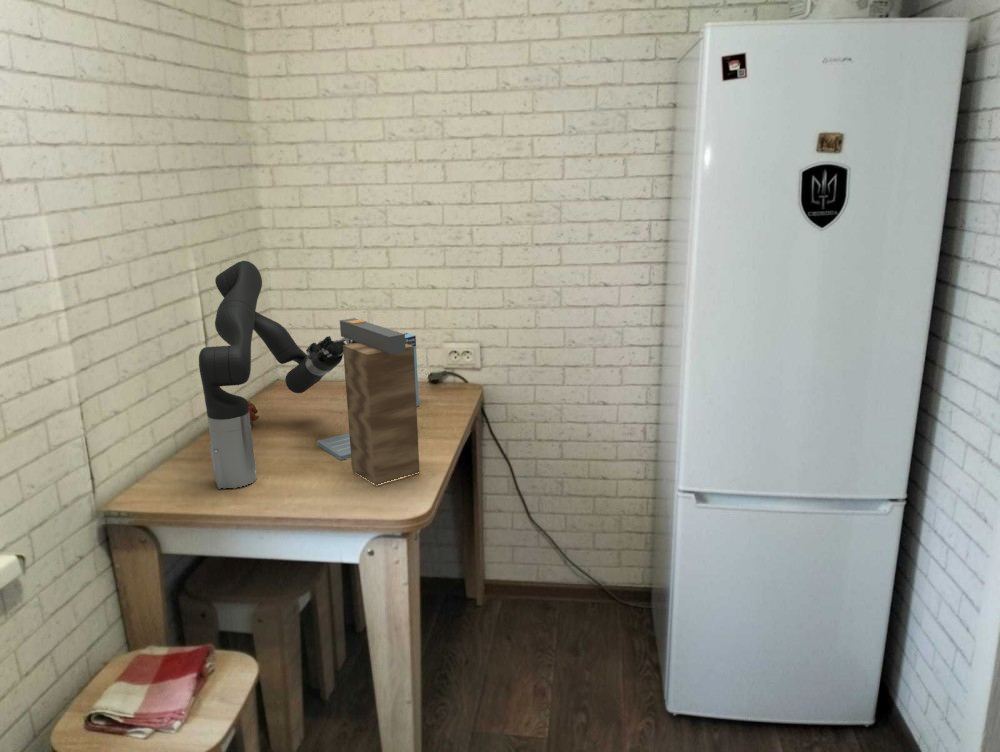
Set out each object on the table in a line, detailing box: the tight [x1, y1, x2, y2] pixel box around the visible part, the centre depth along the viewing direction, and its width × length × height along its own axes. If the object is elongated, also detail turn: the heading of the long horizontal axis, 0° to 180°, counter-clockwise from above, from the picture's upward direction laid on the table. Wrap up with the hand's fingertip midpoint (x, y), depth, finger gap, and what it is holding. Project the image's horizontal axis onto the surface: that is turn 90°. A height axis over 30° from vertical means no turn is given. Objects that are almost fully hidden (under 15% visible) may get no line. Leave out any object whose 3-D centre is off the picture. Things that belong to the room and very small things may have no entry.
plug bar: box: [339, 317, 406, 354], centre depth 173 cm, size 24×4×4 cm, turn 38°
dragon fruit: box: [247, 400, 260, 428], centre depth 211 cm, size 8×8×12 cm
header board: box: [316, 432, 351, 461], centre depth 196 cm, size 14×10×1 cm
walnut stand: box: [343, 343, 420, 485], centre depth 176 cm, size 12×12×32 cm
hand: (345, 337), depth 184 cm, fingers open, 8 cm apart
